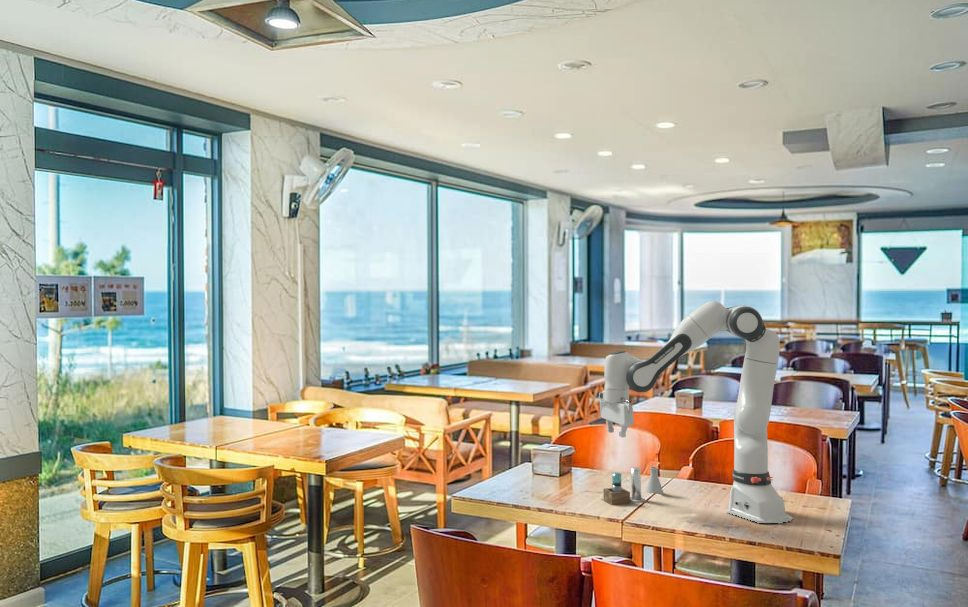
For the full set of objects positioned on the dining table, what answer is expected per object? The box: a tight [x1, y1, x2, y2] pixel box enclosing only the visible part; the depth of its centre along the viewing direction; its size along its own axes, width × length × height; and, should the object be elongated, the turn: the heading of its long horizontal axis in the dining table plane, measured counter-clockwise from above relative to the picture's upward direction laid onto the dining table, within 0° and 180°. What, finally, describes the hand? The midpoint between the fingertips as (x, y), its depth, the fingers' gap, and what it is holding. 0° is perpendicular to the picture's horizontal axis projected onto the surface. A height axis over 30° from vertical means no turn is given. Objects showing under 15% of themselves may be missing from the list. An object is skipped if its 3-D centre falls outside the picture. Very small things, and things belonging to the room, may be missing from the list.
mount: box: [601, 487, 650, 506], centre depth 273 cm, size 8×15×5 cm, turn 106°
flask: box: [644, 466, 665, 496], centre depth 286 cm, size 7×7×10 cm
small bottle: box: [611, 472, 622, 493], centre depth 272 cm, size 3×3×10 cm
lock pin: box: [630, 466, 643, 500], centre depth 274 cm, size 3×3×11 cm
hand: (616, 434), depth 272 cm, fingers open, 8 cm apart
